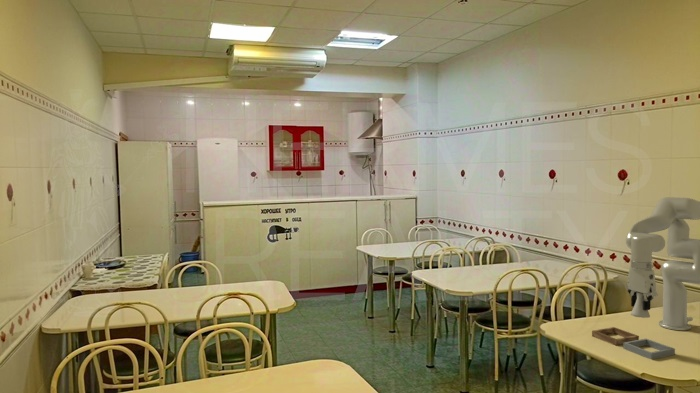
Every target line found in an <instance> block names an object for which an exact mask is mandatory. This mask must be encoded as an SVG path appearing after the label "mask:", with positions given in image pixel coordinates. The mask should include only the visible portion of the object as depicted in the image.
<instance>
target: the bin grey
mask: <svg viewBox="0 0 700 393" xmlns="http://www.w3.org/2000/svg"><path fill="white" fill-rule="evenodd" d="M622 346H623V348H622V349H623V350H626V351H629V352H631V353H634V354H637V355H639V356H641V357H644V358H647V359H649V360H655V359H660V358H666V357H670V356H674V355H675V354H676V348H674V347H671V346H668V345H665V344H663V343H660V342H657V341H656V340H655V341H654V340H652V339H649V338H641V339H640V338H639V340H635V341H630V342H624V343H623V345H622ZM644 346H647V347H650V348H653V349H655V351H649V350H646V349H643V348H642V347H644ZM640 347H641V348H640Z"/></svg>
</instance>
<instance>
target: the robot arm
mask: <svg viewBox="0 0 700 393" xmlns="http://www.w3.org/2000/svg"><path fill="white" fill-rule="evenodd" d="M686 220H689V221H690V220H692V221H693V220H694V221H698V220H699V221H700V201H699V200H696V199H694V198H689V197H673V196H670V197H669V196H668V197H663V198H661V199H660V200H658V202H657V204H656V206H654V209H653V210H652V212H651V214H650V216H649V217H648V216H647V217H645V218H644V219H641V220H640V221H638V222H636V223H634V224H633V225H632V226H631V228H630V229H629V231H628V233H627V235H626V237H625V238H626V239H625V244H626V247H628V248H629V249H630V266H629V270H628V276H627V283H626V284H625V286H624V288H625V289H626V291H627V292H628V294H629V296H630V297H631V298H630V302H631V303H630V306H631V307H632V308H633V307H634V305H635V303H636V300H637V292H640V293H643V295H644V299H645V301H643V310H648V311H650V310H651V301H653V299H655V298H656V297H657V296H658V294H659V293H658V292H657V291H656V290H657V287H656V286H657V285H656V283H657V282H656V275H655V270H654V269H653V268H654V264H653V253H658V252H661V251H663V249H664V248H665V246H666V253H667V255H668V256H670V257H672V258H679V259H687V260H692V261H693V262H691V261H684V260H675V259H669V260H665V261H663V262H662V264H661V266H660V267H661V269H660V270H661V271H660V272H661V276H662V281H663V282H662V284H663V287H662V293H663V294H662V319H661V320H659V321H658V326H660V327H662V328H665V329H668V330H673V331H689V330H690V329H691V327H692V326H691V325H690V324H689V322H692V321H693V320H694V318H693V317H692V316H688V290H687V287H686V286H685V284H684V283H689V284H697V285H700V238H699V239H698V238H691V237H690V226H689V224H688V223H687V222H686ZM665 230H667V238H666V239H667V240H665V238H664V237H663V236H662V235H661V234H657V233H658V232H661V231H665ZM656 232H657V233H656Z"/></svg>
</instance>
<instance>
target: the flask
mask: <svg viewBox="0 0 700 393" xmlns="http://www.w3.org/2000/svg"><path fill="white" fill-rule="evenodd" d="M643 301H645V299H644V295H643V293H640V292H637V300H636V303H635V305H634V307H632V310H631V312H630V316H633V317H635V318H642V319H646V318H647V319H648V318H650V317H651V315H650V312H649V310H643Z"/></svg>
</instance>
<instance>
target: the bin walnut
mask: <svg viewBox="0 0 700 393" xmlns="http://www.w3.org/2000/svg"><path fill="white" fill-rule="evenodd" d="M612 334H615V335H617V336H620V337H619V338H615V337H612V336H610V335H612ZM591 336H592V337H593V338H596V339H598V340H601V341H603V342H606V343H609V344H611V345H614V346H623V343H624V342H630V341H635V340H640V336H639V335H637V334H635V333H633V332H629V331H626V330H623V329H621V328H618V327H615V326H612V327H611V326H610V327H607V328H601V329H599V328H598V329H594V330H592V331H591Z"/></svg>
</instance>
